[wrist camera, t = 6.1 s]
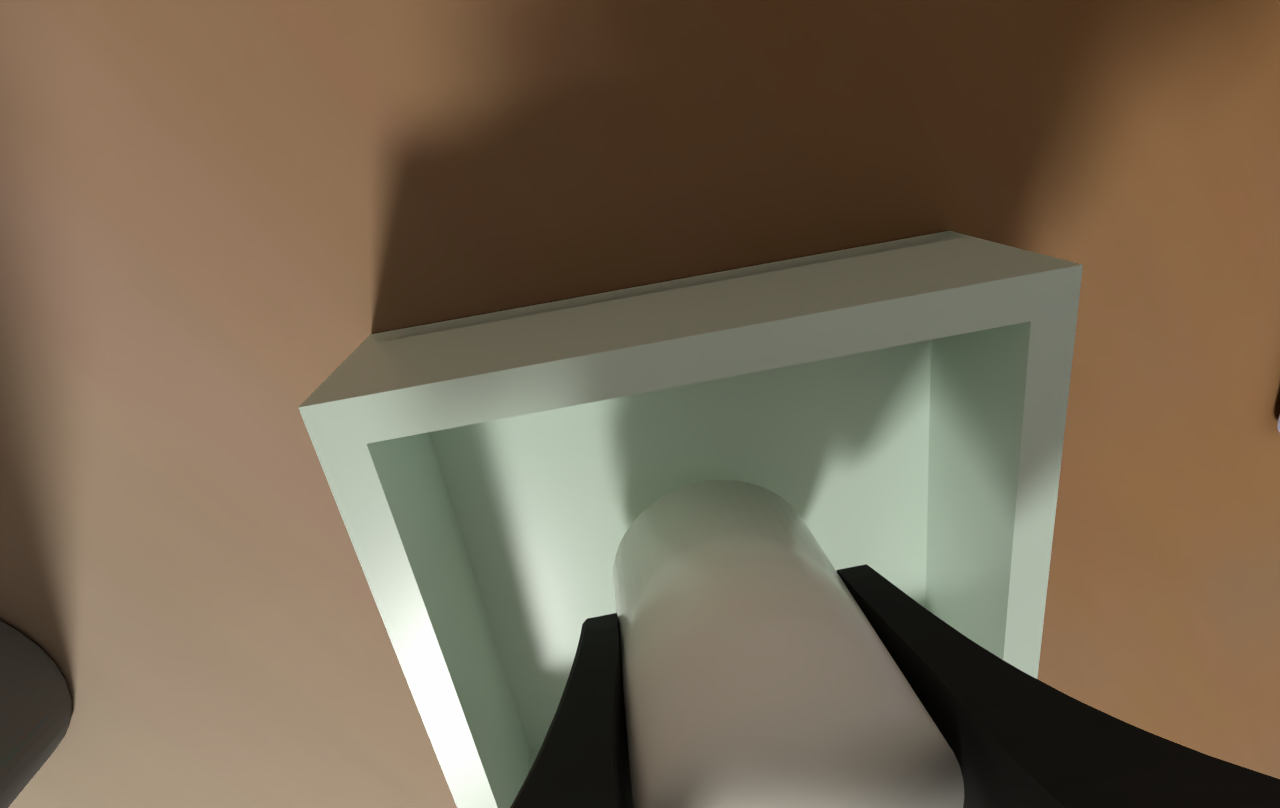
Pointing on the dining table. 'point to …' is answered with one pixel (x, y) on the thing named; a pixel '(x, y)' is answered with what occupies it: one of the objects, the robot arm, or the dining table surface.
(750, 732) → the white capsule cylinder
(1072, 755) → the robot arm
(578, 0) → the dining table surface
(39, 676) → the bottle
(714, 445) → the bin
